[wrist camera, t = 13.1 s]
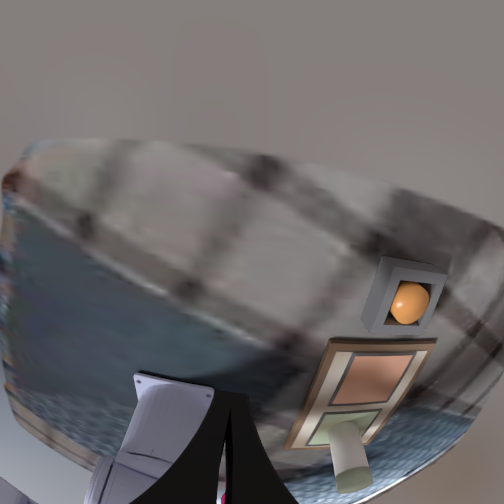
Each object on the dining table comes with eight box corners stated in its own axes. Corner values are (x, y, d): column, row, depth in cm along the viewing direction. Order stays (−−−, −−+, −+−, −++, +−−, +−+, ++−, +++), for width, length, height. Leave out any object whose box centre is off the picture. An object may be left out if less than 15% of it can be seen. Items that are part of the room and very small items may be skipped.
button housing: (411, 321, 21) (422, 334, 19) (360, 318, 21) (369, 334, 19) (433, 264, 19) (447, 274, 17) (381, 255, 19) (394, 266, 17)
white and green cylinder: (348, 437, 26) (360, 491, 18) (322, 437, 26) (330, 494, 18) (363, 421, 25) (380, 478, 17) (336, 420, 25) (349, 482, 17)
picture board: (367, 441, 28) (368, 445, 27) (283, 446, 27) (283, 451, 27) (433, 340, 22) (436, 344, 21) (329, 339, 22) (331, 344, 21)
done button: (410, 313, 20) (419, 324, 18) (380, 311, 20) (389, 323, 18) (423, 279, 19) (434, 289, 17) (393, 275, 19) (403, 285, 17)
